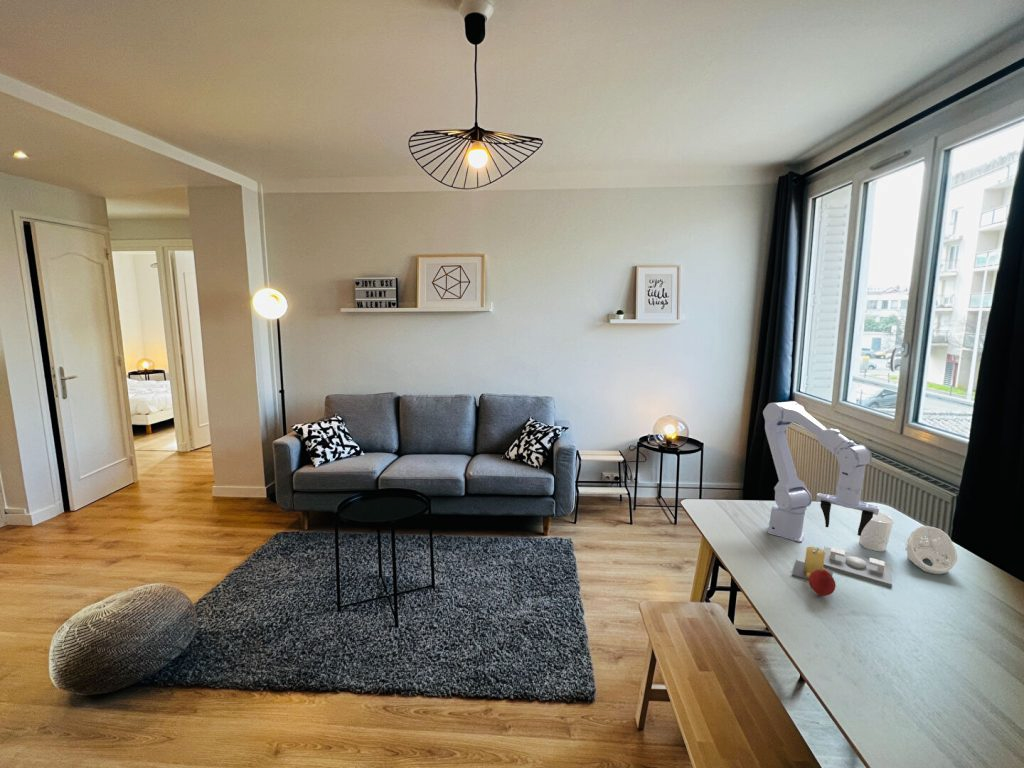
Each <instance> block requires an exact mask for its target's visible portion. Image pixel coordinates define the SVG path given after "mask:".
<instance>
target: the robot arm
mask: <svg viewBox="0 0 1024 768" xmlns="http://www.w3.org/2000/svg"><path fill="white" fill-rule="evenodd" d="M762 415H763V418H764V431H765V434H766V435H765V436H766V438H767V442H768V445H769V449H770V452H771V455H772V456H771V457H772V459H773V464H774V467H775V471H776V474H777V478H778V482H777V483H776V485H775V486H774V487H773V490H774V502H775V504H772V506H771V511H770V516H769V522H768V526H769V527H768V531H767V532H768V534H769V535H773V536H777V537H780V538H784V539H787V540H792V541H795V542H799V543H802V542H803V538H804V535H805V531H803V529H804V523H805V522H804V521H805V515H806V514H805V513H806V511H807V507H810V506H811V504H812V502H813V497H812V494H811V492H810V491H809V490H808V488H807V486H806V483H805V482H804V481H803V480H801V479H800V478H798V474H797V469H796V466H795V463H794V461H793V455H792V453H791V450H790V449H791V448H790V446H789V443H788V439H787V438H788V437H787V435H786V431H787V429H788V427H789V426H790V425H792V424H793V423H796V424H798V425H800V426H801V427H803V428H804V429H805V430H807V431H809V432H810V433H811V434H813V435H814V436H816V437H817V438H818V439H817V440H818V443H819V445H822V447H824V448H825V449H827V450H828V451H829V452H830V453H832V454H833V455H835V456H836V460H837V462H838V465H839V466H838V469H839V473H838V480H837V485H836V486H837V487H836V491H835V492H836V493H835V495H834V494H825V493H820V492H818V493H817V495H816V502H819V503H820V504H819V506H820V509H821V511H822V513H823V517H824V522H825V523H824V524H825V528H829V526H830V518H831V517H830V515H831V508H832V505H835V506H839V507H844V508H847V509H853V510H857V511H861V514H862V515H860V522H859V526H858V529H857V536H859V537H860V536H861V533H862V531H863V529H864V527H865V526H866V524H867V523H868V522H869V521H870V520H871V519H872V518H873V514H874V515H878V513H880V506H877V505H873V504H871V503H868V502H865V501H862V500H861V496H862V492H863V491H862V490H863V485H864V478H865V472H866V465H869V464H870V463H871V461H872V459H873V456H872V452H871V450H870V449H869V448H868V447H867V446H866V445H865V444H857V443H855V441H853V440H852V439H851V440H850V439H849V438H848V437H846V436H845V435H843V433H841V431H840V430H839V429H837V428H836V429H834V428H826V427H825V426H824V425H823V424H821V423H820V422H819V421H818V420H817V419H816V418H814V417H813V416H812V415H811V414H810V413H808V412H807V411H806V410H805V408H804V406H803V405H802V404H799V403H798V402H797V401H794V400H788V401H781V402H770V403H767V405H766V406H765V408H764V409H763V411H762Z"/></svg>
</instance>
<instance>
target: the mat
mask: <svg viewBox="0 0 1024 768" xmlns="http://www.w3.org/2000/svg"><path fill="white" fill-rule="evenodd" d="M804 564H805V561H801V560H797V559H796V560H795V564H794V566H793V570H792V574H791V576H792V577H793V578H797V579H800V580H804V581H806V582H808V579H809V577H806V574H807V573H806V572H805V571H804ZM825 570H826V571H827V572H828V573H830V574H831V576H832V577H833V574H834V571H833V570H830V569H827V568H825Z"/></svg>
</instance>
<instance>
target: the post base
mask: <svg viewBox="0 0 1024 768" xmlns="http://www.w3.org/2000/svg"><path fill="white" fill-rule="evenodd" d="M823 551H824V552H825V559H824V566H823V568H825V569H828V570H832V571H833V572H837V573H841V574H844V575H848V576H851V577H854V578H857V579H860V580H861V579H862V580H864V581H867V582H871V583H874V584H878V585H881V586H885V587H888V588H892V587H893V580H892V568H891V567H892V566H891V563H887V562H885V561H884V560H880V559H877V558H873V557H869V558H867V557H865V556H861V555H858V554H854V553H850V552H846V550H843V549H840V548H836V547H833V546H831V547H829V546H824V547H823Z"/></svg>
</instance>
